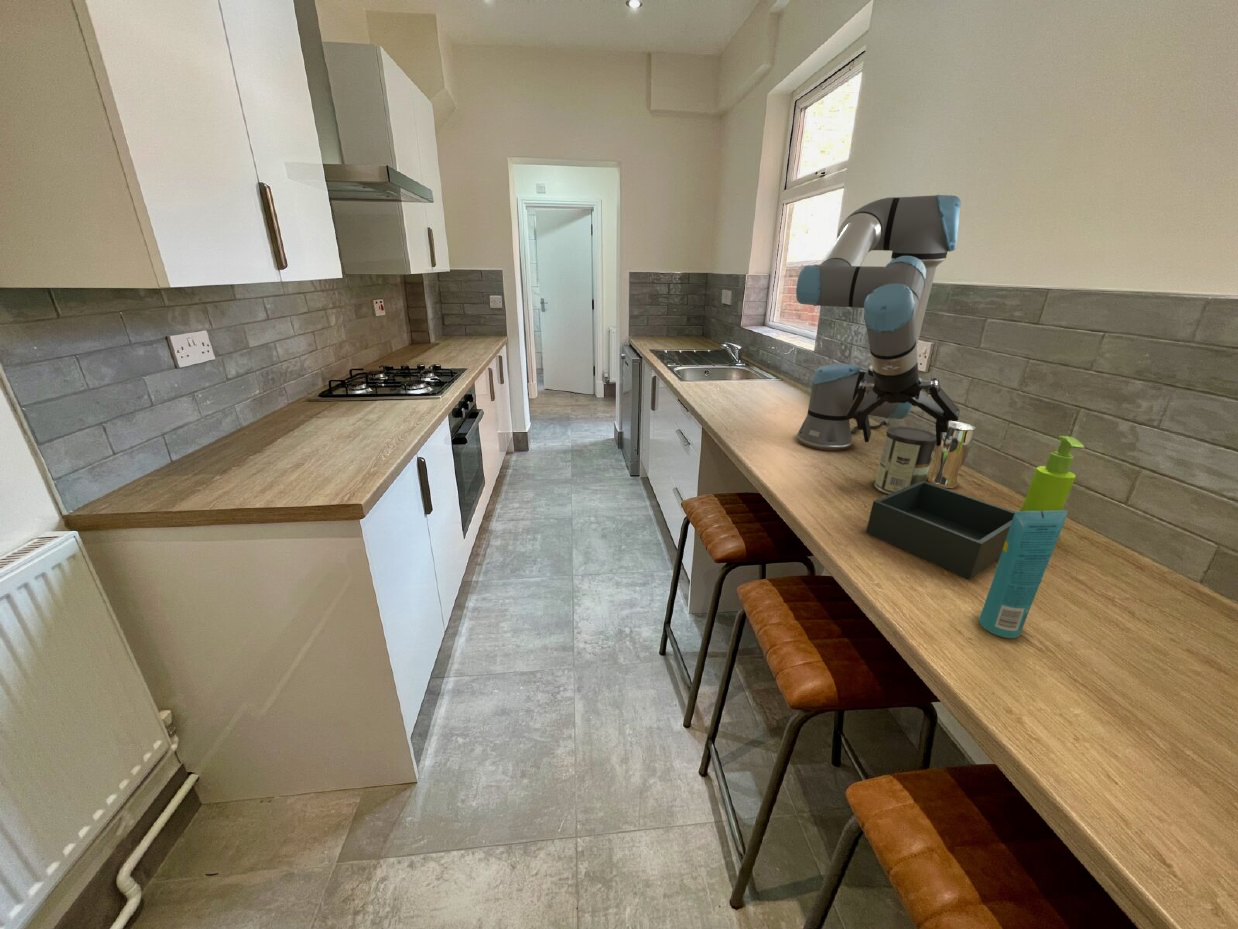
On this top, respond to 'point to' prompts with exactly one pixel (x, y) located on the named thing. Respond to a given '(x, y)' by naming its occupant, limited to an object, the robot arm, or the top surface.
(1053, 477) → the soap dispenser
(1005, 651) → the top surface
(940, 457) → the silver metal cylinder
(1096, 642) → the top surface
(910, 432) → the coffee can
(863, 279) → the robot arm
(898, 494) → the storage bin
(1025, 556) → the tube
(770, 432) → the top surface
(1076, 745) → the top surface
